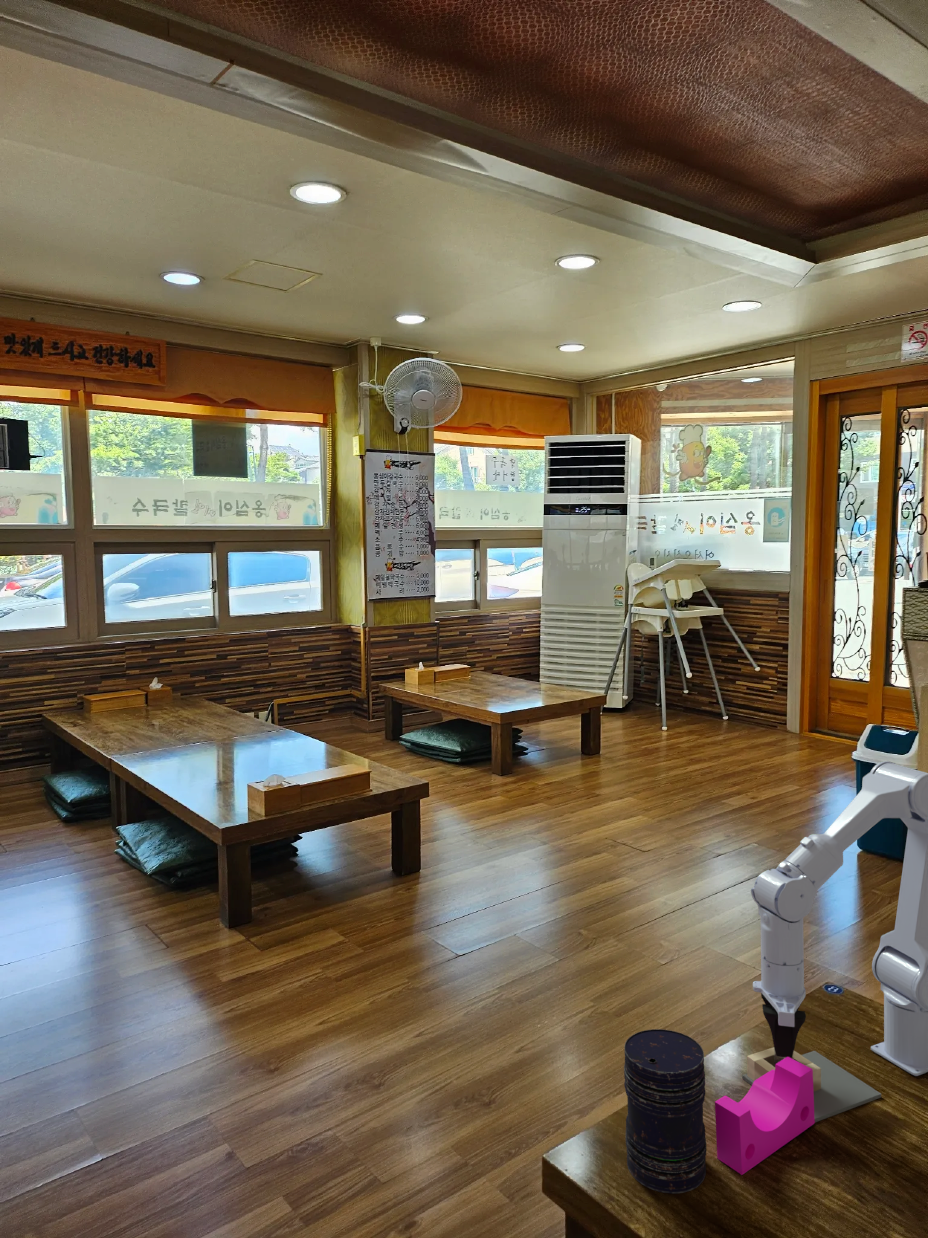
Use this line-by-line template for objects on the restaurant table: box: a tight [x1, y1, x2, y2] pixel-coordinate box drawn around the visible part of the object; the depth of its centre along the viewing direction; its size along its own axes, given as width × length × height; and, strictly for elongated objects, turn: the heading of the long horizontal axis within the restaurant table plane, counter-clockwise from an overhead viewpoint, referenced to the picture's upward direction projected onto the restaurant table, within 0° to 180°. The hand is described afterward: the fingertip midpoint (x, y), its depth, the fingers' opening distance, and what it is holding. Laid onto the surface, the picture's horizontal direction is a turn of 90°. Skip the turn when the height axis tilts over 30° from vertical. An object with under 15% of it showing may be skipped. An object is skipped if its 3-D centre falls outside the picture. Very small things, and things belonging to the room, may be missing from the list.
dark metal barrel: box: [623, 1028, 707, 1194], centre depth 107 cm, size 10×10×15 cm
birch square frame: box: [746, 1046, 821, 1092], centre depth 123 cm, size 7×7×3 cm
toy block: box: [714, 1057, 816, 1176], centre depth 112 cm, size 15×6×8 cm, turn 125°
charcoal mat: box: [741, 1050, 882, 1123], centre depth 122 cm, size 14×12×1 cm
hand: (783, 1049), depth 122 cm, fingers closed on metal pin, 3 cm apart
